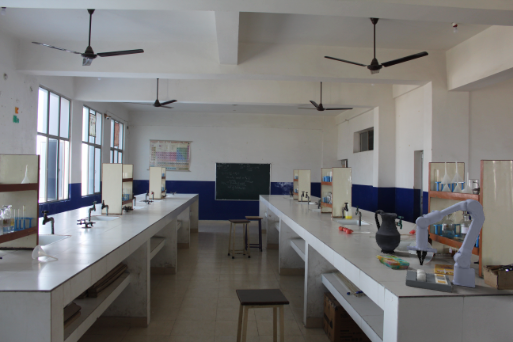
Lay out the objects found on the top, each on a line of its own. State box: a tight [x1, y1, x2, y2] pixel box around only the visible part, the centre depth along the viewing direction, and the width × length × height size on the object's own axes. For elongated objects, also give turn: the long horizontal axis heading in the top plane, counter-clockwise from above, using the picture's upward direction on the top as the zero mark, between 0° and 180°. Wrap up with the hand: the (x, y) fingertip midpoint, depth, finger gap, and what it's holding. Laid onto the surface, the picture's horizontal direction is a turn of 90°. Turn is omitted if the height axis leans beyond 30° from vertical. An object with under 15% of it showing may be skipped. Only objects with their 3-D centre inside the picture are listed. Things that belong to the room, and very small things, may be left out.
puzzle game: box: [375, 254, 411, 270], centre depth 220 cm, size 12×5×20 cm
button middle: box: [416, 269, 427, 274], centre depth 183 cm, size 4×4×4 cm
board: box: [405, 270, 452, 293], centre depth 182 cm, size 20×20×4 cm
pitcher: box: [374, 209, 401, 255], centre depth 259 cm, size 17×21×30 cm
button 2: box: [417, 273, 426, 282], centre depth 177 cm, size 4×4×4 cm
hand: (421, 265), depth 189 cm, fingers closed
